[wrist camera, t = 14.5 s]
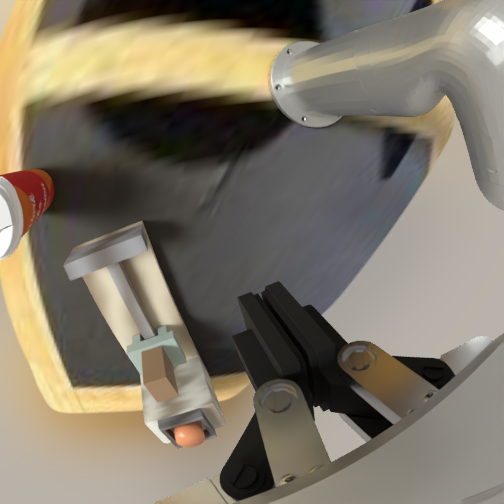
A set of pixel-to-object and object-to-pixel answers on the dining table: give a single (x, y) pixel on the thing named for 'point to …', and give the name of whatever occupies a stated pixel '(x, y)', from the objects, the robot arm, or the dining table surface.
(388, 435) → the robot arm
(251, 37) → the dining table surface
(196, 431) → the button
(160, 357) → the carriage
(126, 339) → the track
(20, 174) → the paper cup
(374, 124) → the dining table surface
